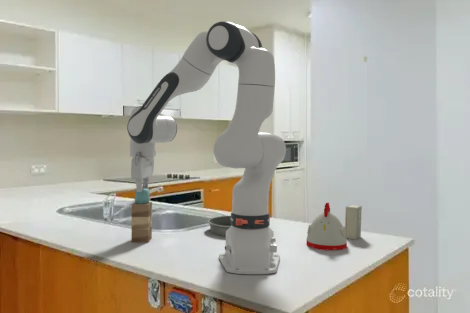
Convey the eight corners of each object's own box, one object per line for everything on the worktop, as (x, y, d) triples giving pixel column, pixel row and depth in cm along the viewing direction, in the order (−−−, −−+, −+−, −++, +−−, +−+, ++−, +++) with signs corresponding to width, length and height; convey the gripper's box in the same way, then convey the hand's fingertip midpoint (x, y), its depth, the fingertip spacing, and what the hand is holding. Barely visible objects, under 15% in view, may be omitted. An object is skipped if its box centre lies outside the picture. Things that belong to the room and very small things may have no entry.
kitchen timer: (302, 247, 140) (303, 204, 139) (310, 239, 152) (311, 199, 152) (344, 252, 134) (345, 207, 134) (348, 242, 147) (349, 201, 147)
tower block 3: (148, 242, 144) (148, 229, 144) (131, 242, 144) (131, 229, 144) (151, 238, 150) (151, 226, 150) (135, 238, 150) (135, 226, 150)
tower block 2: (148, 229, 144) (148, 217, 144) (131, 229, 144) (131, 216, 143) (151, 226, 150) (151, 214, 149) (135, 226, 150) (135, 213, 149)
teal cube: (147, 204, 144) (147, 190, 144) (133, 203, 144) (133, 189, 144) (150, 202, 149) (150, 188, 149) (136, 201, 149) (136, 188, 149)
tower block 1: (148, 217, 144) (148, 204, 143) (131, 216, 143) (131, 204, 143) (151, 214, 150) (152, 202, 149) (135, 213, 149) (135, 201, 149)
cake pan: (268, 226, 175) (268, 216, 175) (267, 239, 151) (267, 227, 151) (212, 224, 178) (212, 214, 178) (202, 237, 153) (202, 225, 153)
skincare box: (350, 235, 159) (350, 204, 159) (361, 236, 157) (362, 205, 156) (344, 238, 154) (345, 206, 154) (355, 239, 152) (356, 207, 151)
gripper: (145, 152, 135) (145, 193, 136) (156, 151, 156) (156, 187, 156) (126, 152, 135) (126, 193, 136) (139, 151, 156) (140, 187, 156)
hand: (142, 190), depth 146 cm, fingers open, 8 cm apart
